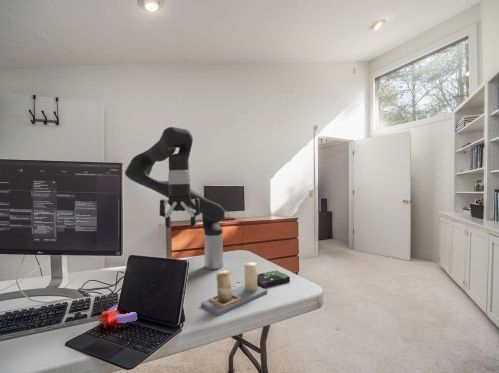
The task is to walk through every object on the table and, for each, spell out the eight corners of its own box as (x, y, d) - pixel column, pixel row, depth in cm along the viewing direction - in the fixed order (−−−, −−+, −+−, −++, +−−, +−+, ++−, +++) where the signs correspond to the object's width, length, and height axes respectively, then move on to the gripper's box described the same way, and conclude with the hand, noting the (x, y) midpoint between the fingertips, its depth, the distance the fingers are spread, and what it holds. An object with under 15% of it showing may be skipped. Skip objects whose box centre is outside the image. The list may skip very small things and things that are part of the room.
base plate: (201, 305, 92) (200, 274, 92) (250, 285, 108) (249, 259, 108) (217, 315, 85) (216, 282, 84) (267, 292, 101) (266, 264, 101)
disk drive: (261, 290, 105) (290, 282, 112) (261, 283, 105) (290, 276, 112) (249, 282, 114) (277, 275, 121) (249, 275, 114) (276, 269, 121)
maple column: (215, 300, 93) (214, 273, 93) (225, 295, 96) (224, 269, 96) (223, 304, 89) (222, 276, 89) (234, 299, 93) (233, 272, 93)
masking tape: (106, 333, 77) (105, 320, 77) (108, 315, 87) (108, 304, 87) (147, 323, 82) (147, 311, 82) (145, 307, 92) (145, 296, 92)
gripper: (156, 183, 89) (157, 230, 89) (197, 182, 89) (198, 228, 90) (162, 183, 97) (164, 226, 97) (200, 182, 97) (201, 225, 97)
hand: (180, 227), depth 93 cm, fingers open, 8 cm apart
